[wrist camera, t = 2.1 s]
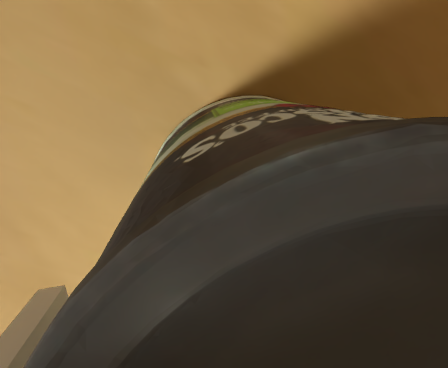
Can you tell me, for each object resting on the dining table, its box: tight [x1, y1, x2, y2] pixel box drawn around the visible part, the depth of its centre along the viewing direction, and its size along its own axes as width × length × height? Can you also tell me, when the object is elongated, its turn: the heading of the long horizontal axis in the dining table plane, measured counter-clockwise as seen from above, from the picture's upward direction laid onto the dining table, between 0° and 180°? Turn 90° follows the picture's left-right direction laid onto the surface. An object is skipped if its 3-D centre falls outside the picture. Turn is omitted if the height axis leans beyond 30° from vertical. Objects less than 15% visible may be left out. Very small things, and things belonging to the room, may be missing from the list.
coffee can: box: [23, 96, 448, 368], centre depth 11 cm, size 10×10×14 cm
